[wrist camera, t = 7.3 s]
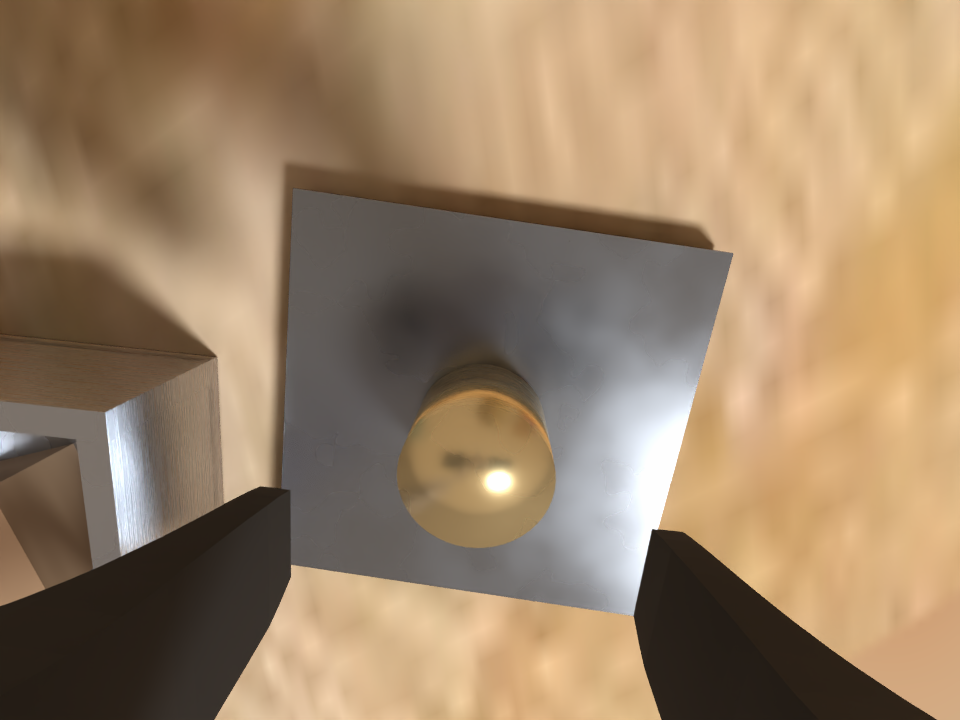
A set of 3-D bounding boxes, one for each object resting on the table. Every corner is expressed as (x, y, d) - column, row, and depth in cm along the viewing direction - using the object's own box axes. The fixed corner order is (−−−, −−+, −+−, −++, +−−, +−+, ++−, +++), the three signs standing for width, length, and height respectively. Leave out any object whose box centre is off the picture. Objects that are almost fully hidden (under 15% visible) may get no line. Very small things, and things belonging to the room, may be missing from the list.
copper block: (122, 542, 19) (53, 602, 16) (26, 563, 19) (-59, 625, 16) (73, 443, 18) (-12, 488, 15) (-28, 467, 18) (-129, 515, 15)
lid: (624, 588, 19) (664, 708, 15) (293, 538, 19) (226, 642, 15) (714, 249, 16) (803, 264, 11) (310, 190, 16) (229, 180, 11)
